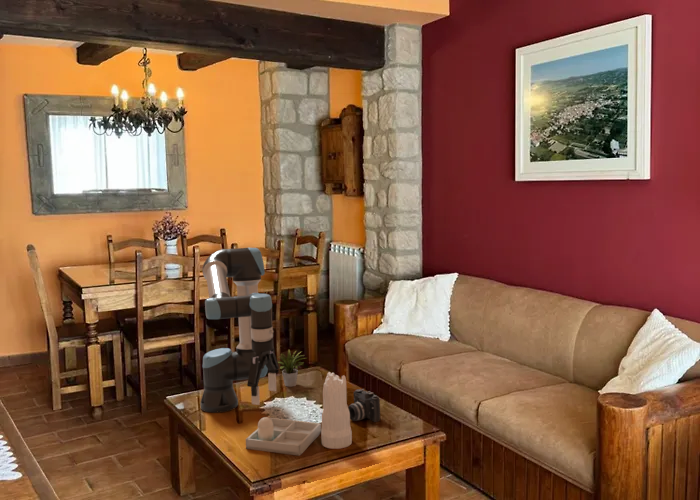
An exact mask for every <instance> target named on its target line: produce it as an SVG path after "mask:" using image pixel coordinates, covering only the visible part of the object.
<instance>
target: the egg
mask: <svg viewBox="0 0 700 500" xmlns="http://www.w3.org/2000/svg"><path fill="white" fill-rule="evenodd" d="M270 418H271V417H267V416H264V417H261V418H260V419H259V421H258V422H257V429H258V440H265V441H273V440H274V428H273V421H272V420H271V419H270Z"/></svg>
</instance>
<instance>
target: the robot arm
mask: <svg viewBox="0 0 700 500" xmlns="http://www.w3.org/2000/svg"><path fill="white" fill-rule="evenodd" d="M265 274H266V272H265V264H264V259H263V254H262V252H261V250H260V249H259V248H258V247H239V248H222V249H218V250H216V251H214V252H212V253H211V254H210V255H208V257H206V259H205V260H204V262H203V265H202V275H203V278H204V280H206V285H207V293H208V298H206V299H205V300H204V306H205V307H204V310H205V311H204V312H205V316H206V319H208V320H222V319H233V318H238V334H239V336H238V337H239V343H238V344H237V346H236V349H235V350H236V351H232V349H231V348H229V347H221V348H216V349H212V350H209V351H208V352H206V353H204V355H203V357H202V370H203V371H202V372H203V392H202V396H201V399H200V409H201V410H202V411H203V412H206V413H211V414H212V413H214V414H215V413H225V412H229V411H232V410H234V409H236V408H237V407H238V406H239V399H238V397H237V394H236V391H235V388H234V381H241V380H247V384H246V385H247V387H248V388H249V387H250V393H251V394H250V396H251V405H256V406H260V405H261V401H260V400H261V398H260V397H261V396H260V385H259V383H260V378H264V377H266V375H268V377H267V379H268V382H267V383H268V392H269V391H271V392H277V374H278V373H279V371H280V370H279V369H280V367H279V363H278V360H277V358H276V357H277V356H276V354H275V347H274V338H273V337H274V332H275V331H274V329H273V328H274V327H273V303H272V302H273V300H272V296H271V295H270V294H268V293H259V286H258V285H259V283H260V282H261V280H262V276H264V275H265ZM227 278H232V282H233V283H234V284H235V285H236V294H237V296H231V294H230V293H231V292H230V289H229V285H228V284H229V283H228V279H227Z"/></svg>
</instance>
